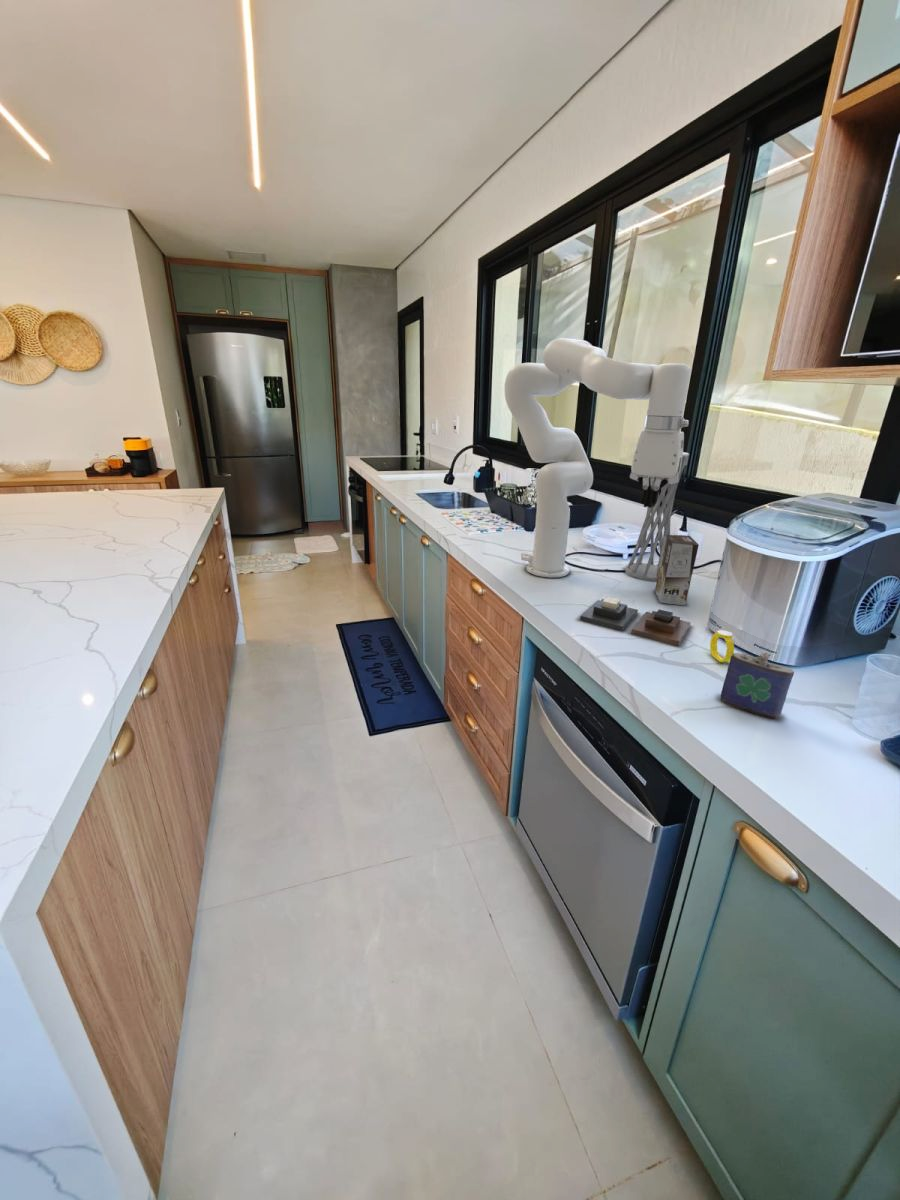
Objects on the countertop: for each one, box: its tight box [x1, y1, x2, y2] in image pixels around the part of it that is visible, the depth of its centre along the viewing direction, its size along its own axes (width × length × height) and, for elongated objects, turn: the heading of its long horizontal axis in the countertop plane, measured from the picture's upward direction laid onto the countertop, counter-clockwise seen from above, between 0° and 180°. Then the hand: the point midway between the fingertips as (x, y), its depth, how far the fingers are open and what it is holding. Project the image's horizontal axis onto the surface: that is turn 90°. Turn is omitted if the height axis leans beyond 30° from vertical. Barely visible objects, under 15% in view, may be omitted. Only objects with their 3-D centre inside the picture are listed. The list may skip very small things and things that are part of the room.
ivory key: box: [602, 596, 621, 610], centre depth 119 cm, size 3×3×2 cm
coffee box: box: [654, 534, 700, 606], centre depth 130 cm, size 9×6×16 cm
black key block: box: [579, 598, 639, 632], centre depth 120 cm, size 10×12×3 cm
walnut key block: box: [630, 610, 692, 647], centre depth 114 cm, size 10×12×3 cm
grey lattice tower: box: [624, 451, 690, 582], centre depth 144 cm, size 14×13×35 cm
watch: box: [709, 629, 735, 663], centre depth 101 cm, size 6×3×6 cm, turn 4°
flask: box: [719, 651, 795, 720], centre depth 85 cm, size 9×3×11 cm, turn 51°
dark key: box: [654, 608, 674, 623], centre depth 113 cm, size 3×3×2 cm
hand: (648, 506), depth 119 cm, fingers closed
